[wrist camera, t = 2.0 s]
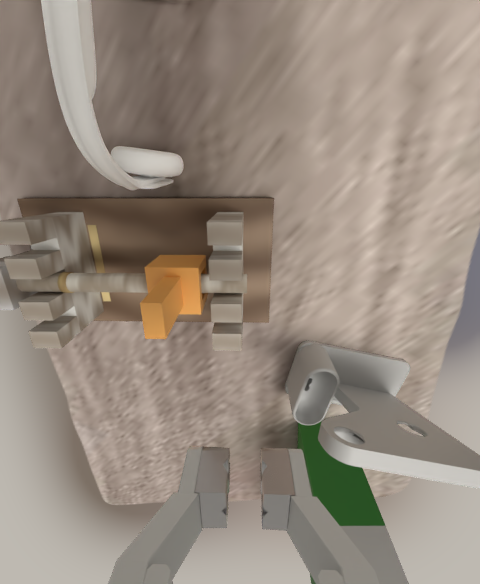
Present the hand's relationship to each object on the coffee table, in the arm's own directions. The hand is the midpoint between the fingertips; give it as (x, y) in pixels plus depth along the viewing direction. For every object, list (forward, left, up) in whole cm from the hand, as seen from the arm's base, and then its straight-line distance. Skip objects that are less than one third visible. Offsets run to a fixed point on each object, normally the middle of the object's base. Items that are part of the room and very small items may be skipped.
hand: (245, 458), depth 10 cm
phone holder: (+18, +15, -27) cm, 36 cm away
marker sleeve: (0, -7, -21) cm, 23 cm away
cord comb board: (0, -12, -27) cm, 30 cm away
